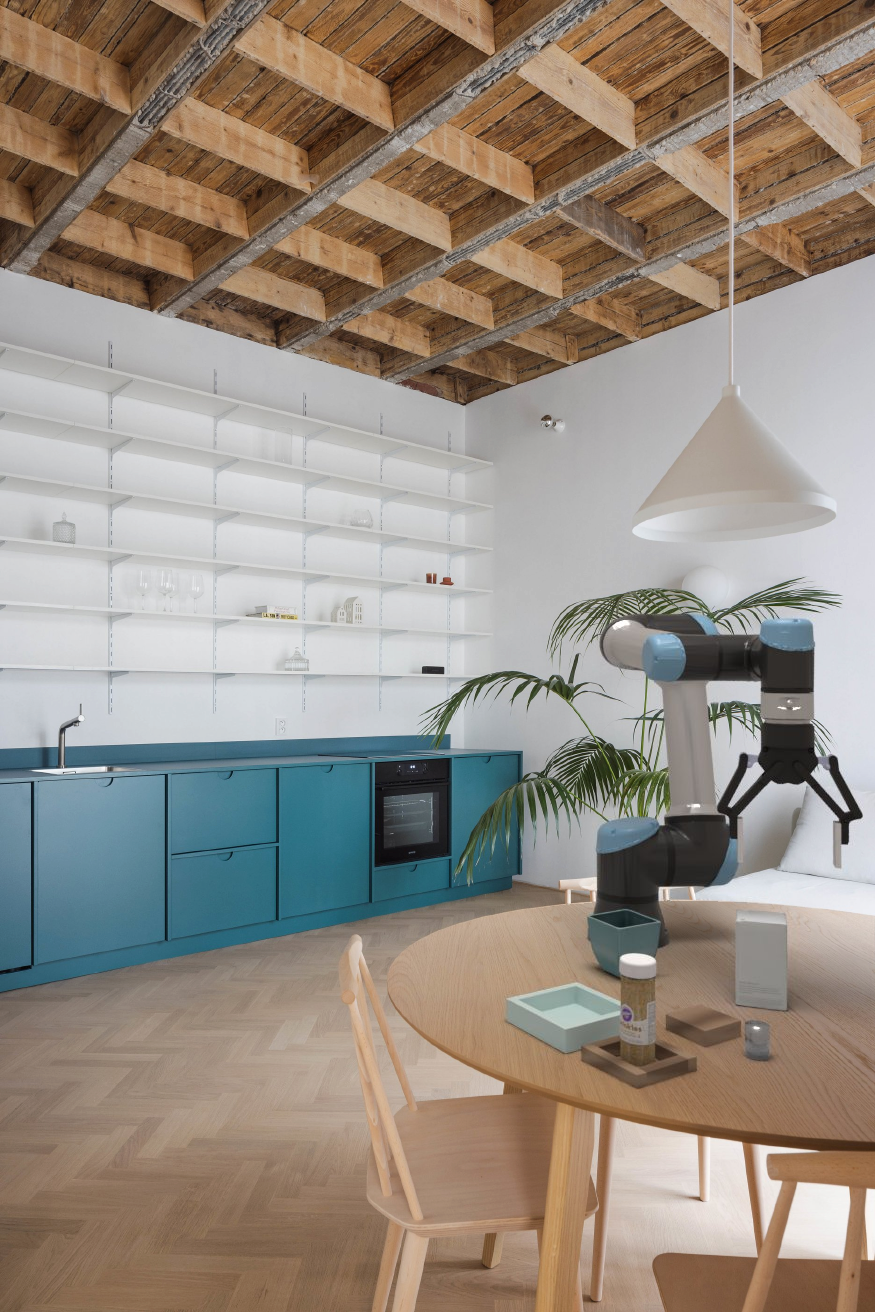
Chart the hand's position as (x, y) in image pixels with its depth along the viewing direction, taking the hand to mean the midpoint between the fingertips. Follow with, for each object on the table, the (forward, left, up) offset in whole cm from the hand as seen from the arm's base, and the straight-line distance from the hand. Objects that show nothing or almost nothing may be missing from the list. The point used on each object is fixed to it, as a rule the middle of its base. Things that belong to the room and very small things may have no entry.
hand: (787, 864), depth 135 cm
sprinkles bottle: (+4, -35, -21) cm, 41 cm away
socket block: (+4, -35, -21) cm, 40 cm away
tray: (-10, -34, -21) cm, 41 cm away
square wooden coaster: (+1, -20, -21) cm, 29 cm away
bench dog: (+10, -20, -21) cm, 30 cm away
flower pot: (-23, -12, -21) cm, 33 cm away
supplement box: (-3, -3, -21) cm, 21 cm away
